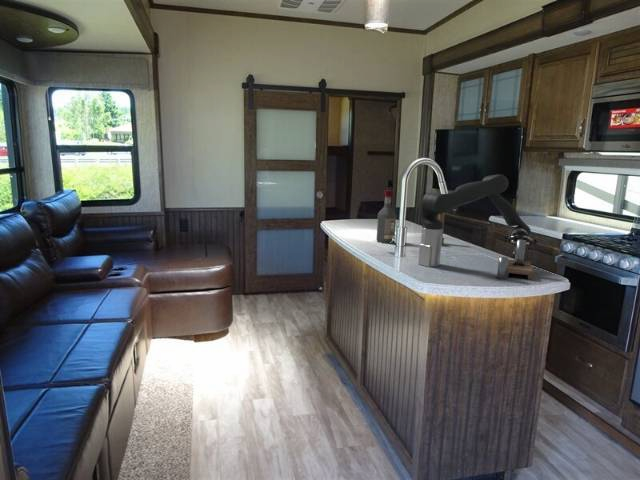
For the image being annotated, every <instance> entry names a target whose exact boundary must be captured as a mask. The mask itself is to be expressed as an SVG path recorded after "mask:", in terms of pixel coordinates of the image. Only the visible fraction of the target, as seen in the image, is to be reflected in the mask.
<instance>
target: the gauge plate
mask: <svg viewBox="0 0 640 480" xmlns="http://www.w3.org/2000/svg"><path fill="white" fill-rule="evenodd" d="M514 262H515V259H508V265H507V274H506V278H509V276H510V275H509V274H514V273H515V274H514V275H518V274H521V275H524V276H527V277H526V278H527V281H532V275H533V269H532V262H531V261H525V260H524V262H523V266H514Z"/></svg>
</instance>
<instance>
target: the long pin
mask: <svg viewBox="0 0 640 480" xmlns="http://www.w3.org/2000/svg"><path fill="white" fill-rule="evenodd" d="M526 246H527V244H526V240H521V239H518V240H517V245H515V247H516V248H515V256H514V260H515V262H514V266H523V262H524V261H525V254H526V253H525V252H526ZM513 274H514V275H516V274H515V273H513ZM517 275H522V274H517Z"/></svg>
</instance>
